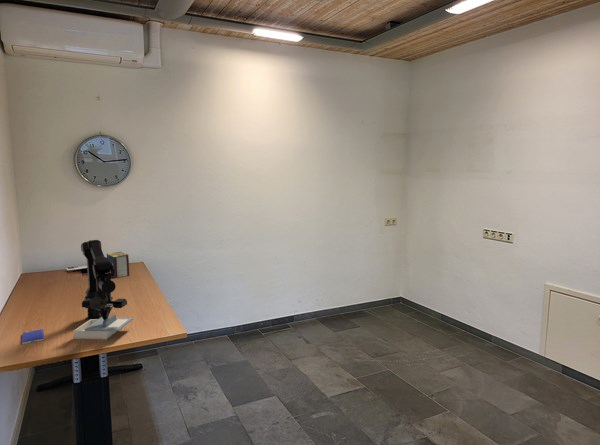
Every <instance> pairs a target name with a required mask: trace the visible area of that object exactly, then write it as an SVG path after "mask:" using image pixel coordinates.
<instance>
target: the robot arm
mask: <svg viewBox="0 0 600 445" xmlns="http://www.w3.org/2000/svg"><path fill="white" fill-rule="evenodd" d="M102 247H103V246H102V242H101V241H100V240H99V239H92V240H88V241H83V243H81V244H80V250H81V252H82V254H83V256H84V257H85V258H86V269H87V271H86V272H87V283H88V287H87V289H86V291H85V292H84V294H85V295H84V298H83V300H82V302H81V308H85V309H87V316H86V317H85V318H84V319H85V320H90V319H100V318H101V317H102V318H103V320H106V319H107V318H108V317H110V313H111V312H112V309H113V308H114V309H122V308H124V307H125V306H127V305H128V300H127V298H117V299H116V300H114V299H113V296H112V293H113V292H114V291H115V290H116V286H117V285H116V283H115V282H114V281H113V280H112V278H113V277H112V276H114V274H115V271H114V267H113V265H112V263H110V261H109V259H108V258H107V256H105V254H104V252H103V250H102ZM110 271H111V273H110Z"/></svg>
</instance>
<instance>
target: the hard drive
mask: <svg viewBox="0 0 600 445" xmlns="http://www.w3.org/2000/svg"><path fill="white" fill-rule="evenodd" d="M44 332H45V331H44V328H43V329H42V328H40V329H36V330H31V331H25V332H22V335H21V345H27V344H31V342H32V343H36V341H37V342H41V341H42V340H43V341H45V334H44Z"/></svg>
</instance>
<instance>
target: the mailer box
mask: <svg viewBox="0 0 600 445" xmlns="http://www.w3.org/2000/svg"><path fill="white" fill-rule="evenodd" d="M97 320H98V319H88V320H87V321H86V322H84V323H83V324H81V325H80V326H78V327H77V328H75V329H73V339H74V340H90V341H91V340H96V341H97V340H98V341H108V340H109V339H110V338H111V337H112V336H113V335H115V334H116V333H118V331H90V330H85V328H87V327H88V326H90V325H91V324H92V323H94V322H95V321H97Z"/></svg>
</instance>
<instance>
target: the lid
mask: <svg viewBox="0 0 600 445" xmlns="http://www.w3.org/2000/svg"><path fill="white" fill-rule="evenodd" d="M133 320H134V317H117V315H116V314H112V315H109V316H108V318H107V319H106V320H103V318H102V317H100V318H99V319H98V320H97V321H95V322H94V323H92V324H91V325H90V326H88V327H87V328H85V330H90V331H117V332H119V331H121V330H122V329H123V328H124V327H126V326H127V325H128V324H129V323H130V322H132V321H133Z"/></svg>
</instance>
